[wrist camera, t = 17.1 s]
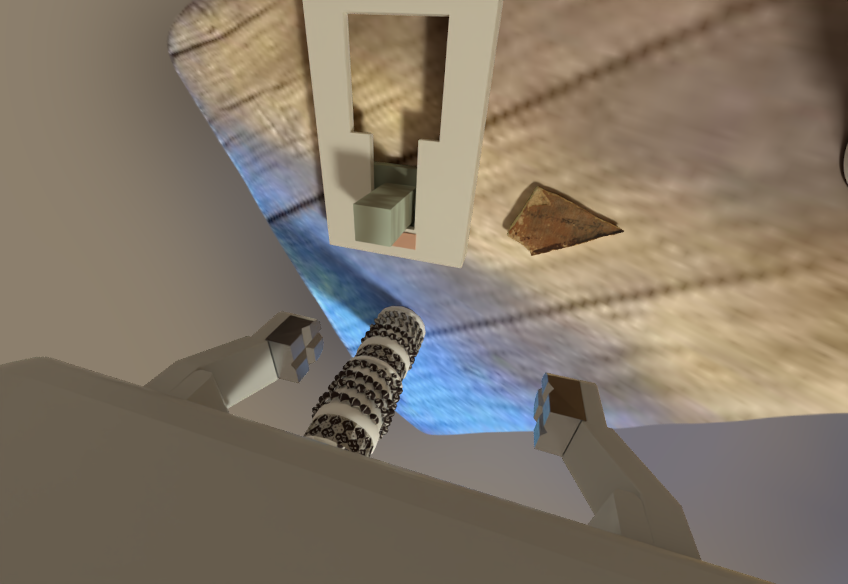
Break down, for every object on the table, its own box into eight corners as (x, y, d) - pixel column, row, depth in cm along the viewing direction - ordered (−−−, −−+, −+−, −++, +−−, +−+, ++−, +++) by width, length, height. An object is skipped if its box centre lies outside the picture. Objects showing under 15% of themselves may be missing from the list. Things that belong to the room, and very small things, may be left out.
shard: (621, 226, 37) (625, 232, 35) (576, 276, 41) (578, 282, 40) (538, 181, 37) (538, 185, 35) (502, 235, 41) (501, 241, 40)
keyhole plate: (504, -5, 29) (500, -18, 25) (466, 254, 43) (460, 268, 40) (323, -8, 32) (299, -20, 29) (343, 233, 47) (329, 245, 43)
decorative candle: (366, 306, 53) (265, 443, 32) (418, 300, 49) (340, 449, 29) (385, 349, 57) (306, 494, 37) (434, 346, 53) (376, 505, 33)
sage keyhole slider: (437, 168, 38) (411, 191, 30) (432, 231, 43) (408, 267, 34) (374, 161, 40) (332, 180, 31) (376, 222, 44) (339, 254, 36)
